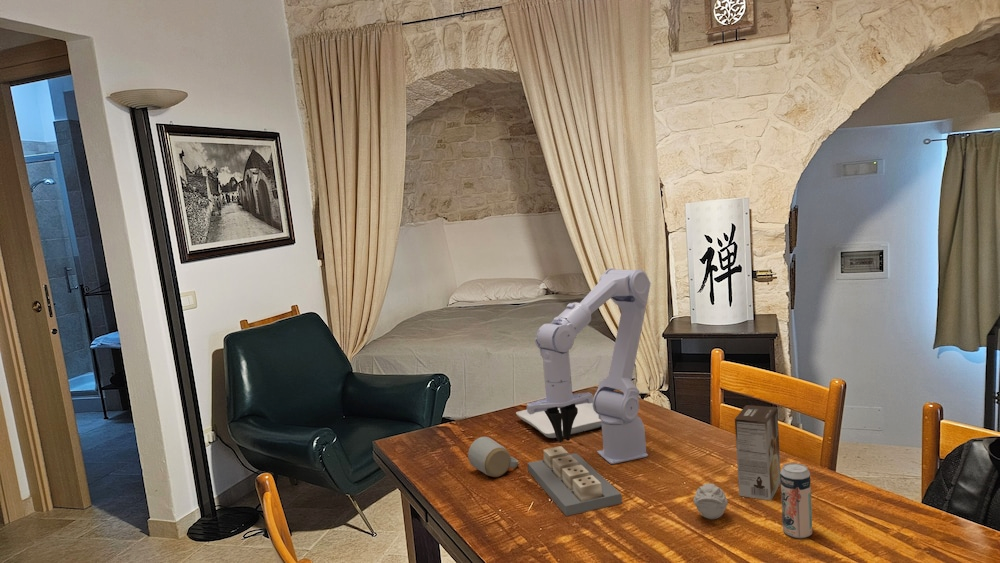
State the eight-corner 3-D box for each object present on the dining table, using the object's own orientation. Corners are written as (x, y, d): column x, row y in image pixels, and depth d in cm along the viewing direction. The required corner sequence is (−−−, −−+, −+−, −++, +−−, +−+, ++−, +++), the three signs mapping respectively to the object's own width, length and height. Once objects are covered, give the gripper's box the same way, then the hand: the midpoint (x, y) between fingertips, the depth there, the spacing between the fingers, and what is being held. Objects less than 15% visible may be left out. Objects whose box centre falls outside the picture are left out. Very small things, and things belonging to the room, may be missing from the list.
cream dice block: (571, 468, 151) (570, 454, 151) (579, 476, 147) (578, 461, 147) (553, 472, 150) (552, 458, 150) (560, 480, 146) (559, 465, 145)
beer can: (777, 528, 121) (774, 464, 119) (803, 524, 121) (800, 460, 120) (791, 541, 116) (788, 475, 115) (818, 538, 116) (815, 471, 115)
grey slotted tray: (576, 461, 159) (576, 452, 159) (622, 503, 136) (621, 493, 136) (528, 471, 156) (527, 462, 156) (566, 516, 133) (565, 506, 133)
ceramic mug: (487, 483, 152) (484, 449, 151) (468, 472, 159) (466, 440, 158) (526, 469, 157) (523, 438, 156) (506, 460, 164) (504, 429, 163)
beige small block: (582, 478, 146) (581, 464, 145) (590, 486, 141) (589, 471, 141) (563, 483, 144) (561, 468, 144) (570, 491, 140) (569, 475, 140)
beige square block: (593, 489, 140) (592, 474, 139) (602, 498, 136) (601, 482, 135) (573, 494, 139) (572, 478, 138) (581, 503, 134) (580, 487, 134)
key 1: (562, 459, 157) (561, 445, 157) (569, 466, 153) (568, 452, 152) (544, 463, 156) (543, 449, 155) (550, 470, 152) (549, 455, 151)
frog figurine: (693, 526, 124) (690, 490, 124) (696, 508, 131) (693, 474, 130) (728, 528, 122) (726, 492, 121) (729, 510, 129) (727, 475, 128)
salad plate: (547, 445, 171) (546, 432, 171) (515, 422, 191) (514, 410, 190) (620, 428, 179) (619, 415, 178) (582, 407, 198) (581, 396, 198)
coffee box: (749, 477, 142) (745, 403, 140) (781, 482, 138) (778, 406, 136) (738, 496, 134) (734, 418, 132) (772, 501, 131) (768, 421, 129)
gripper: (582, 369, 152) (586, 428, 153) (520, 380, 148) (525, 440, 150) (594, 376, 145) (599, 437, 147) (530, 388, 141) (536, 450, 143)
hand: (563, 439), depth 148 cm, fingers closed
